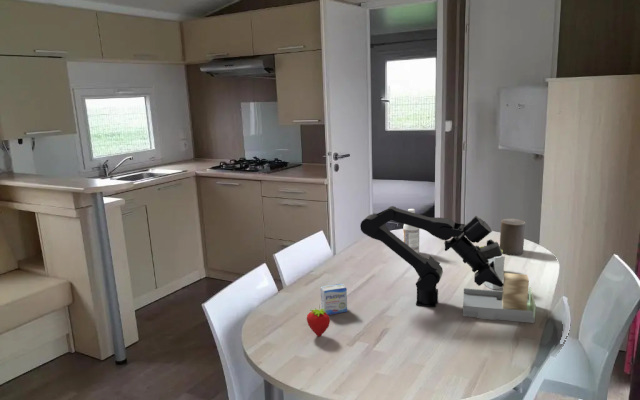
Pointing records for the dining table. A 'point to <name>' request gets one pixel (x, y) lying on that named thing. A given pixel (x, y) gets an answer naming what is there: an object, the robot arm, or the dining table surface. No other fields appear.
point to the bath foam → (411, 235)
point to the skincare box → (497, 270)
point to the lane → (495, 306)
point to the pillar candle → (512, 236)
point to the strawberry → (318, 321)
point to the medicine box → (334, 299)
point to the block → (515, 291)
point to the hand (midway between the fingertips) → (502, 285)
